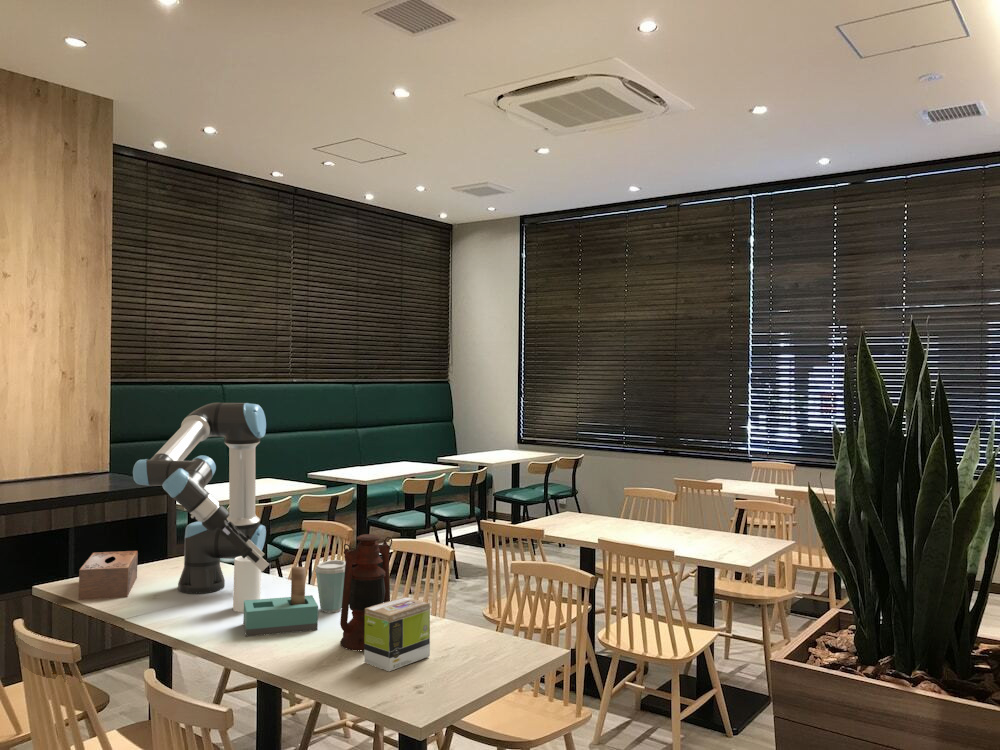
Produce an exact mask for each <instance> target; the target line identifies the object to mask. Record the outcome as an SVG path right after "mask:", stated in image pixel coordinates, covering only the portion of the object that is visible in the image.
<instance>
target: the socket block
mask: <svg viewBox="0 0 1000 750" xmlns="http://www.w3.org/2000/svg"><path fill="white" fill-rule="evenodd" d="M318 618H319V605H318V603H317V601H316V600H315V598H314V596H313V595H312V594H311V595H305V604H300V605H291V596H285V597H273V598H271V597H270V598H260V599H257V600H244V612H243V619H242V622H243V623H242V624H244V625H243V628H244V633H246V634H245V637H246V636H247V637H255V636H256V635H258V636H264V634H265V636H266V634H269V635H276V634H277V633H280V634H289V633H299V632H300V631H301V632H309V630H312V631H318V627H319V626H318V625H319V622H318V621H319V620H318ZM277 635H278V634H277Z"/></svg>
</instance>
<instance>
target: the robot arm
mask: <svg viewBox="0 0 1000 750" xmlns="http://www.w3.org/2000/svg"><path fill="white" fill-rule="evenodd" d="M266 430H267V420H266V414H265V411H264V410H263V408H262V407H261V406H260V404H258V403H257V404H256V403H249V402H211V403H207V404H205V405H202V406H201V407H199V408H197V409H195V410H193V411H192V412H190V413H189V414H188V415H187V416H185V418H184V419H183V420H182V422H181V424H180V428H179V429H177V431H176V432H175V433H174V434H173V435H172V436H171V437H170V438H169V439H168V440H167V441H166V443H164V444H163V446H162V447H160V449H159V450H158V451H157V452H156V453H155V454H154V455H153V456H152V457H151V458H150V459H148V458H145V459H139V460H137V461H136V462H135V464H134V465H133V469H132V476H133V481H134V482H135V483H136V484H137V485H139V486H141V485H142V486H149V487H150V486H153V487H154V486H156V487H157V486H162V488H163V491H165V492H166V493H167V494H168V495H169V497H170V498H172V499H173V500H174V501H176V502H177V503H178V504H179V505H180V506H182V507H183V508H184V510H186V511H187V512H188V513H189V514H190V518H191V519H195V520H196V521H194V522H191V523H189V524H188V525H186V527H185V532H184V550H183V551H184V552H183V555H184V557H183V563H184V564H183V565H184V566H183V569H182V571H181V575H180V577H179V579H178V583H177V590H178V591H179V592H180V593H183V594H184V593H186V594H208V593H214V592H218V591H220V589H221V590H223V589H224V588H225V585H226V581H225V580H226V579H225V576H224V573H223V571H222V567H221V559H223V560H224V559H226V560H227V559H230V560H231V559H234V560H235V558H236V557H239V556H242V557H243V558H245V557H247V558H248V559H249V560H250V561H251V562H252V563H253V564H254V565H255V566H257V567H258V568H259V569H260V570H261V573H262V572H264V570H265V569H266V568H268V567H269V566H270V563H269V562H267V560H266V559H264V558H263V556H265V553H264V552H263V548H264V546H265V542H266V537H267V530H266V529H267V528H266V526H265V525H263V524H261V518H260V517H258V516H257V514H256V447H257V446H258V445H259V444H260V443H261V438H264V437H265V435H266V432H267V431H266ZM211 437H218V438H219V437H221V438H224V444H225V445H226V446H227V447H228V448H229V453H228V456H229V459H228V460H229V461H228V462H229V464H228V465H229V467H228V469H229V470H228V471H229V474H228V476H229V477H228V479H229V483H228V485H229V487H228V489H229V490H228V491H229V493H228V494H229V497H228V498H229V499H228V500H229V503H228V507H229V508H228V509H229V510H228V509H227V508H226V507H225V506H224V505H223V504H220V501H219V500H218V499H216V497H214V495H212V494H211V493H209V491H207V490H206V489H205V487H206V486H207V485H208V483H209V482H210V481H212V478H213V476H214V475H215V473H216V470H217V465H216V463H215V461H214V460H213V458H211V457H209V456H207V455H198V456H195V457H194V458H192V459H191V460H186V458H187V457H188V456H189V455H190V454H191V452H192V451H193V450H194V449H195V448H196V446H197V445H198V444H200V442H203V441H205V440H207V439H208V438H211Z"/></svg>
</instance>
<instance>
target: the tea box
mask: <svg viewBox="0 0 1000 750" xmlns="http://www.w3.org/2000/svg"><path fill="white" fill-rule="evenodd" d="M430 612H431V604H430V602H426V601H422V600H418V599H415V598H410V597H408V596H402V597H398V598H396V599H393V600H390V601H389V602H385V603H384V602H383V603H381V604H378V605H375V606H371V607H368V608H365V637H364V651H363V653H364V654H363V658H364V661H363V662H364V663H365V664H366V663H368V664H367V665H369V664H370V665H369V666H371V665H373V666H372V667H374V666H376V667H375V668H377V667H378V668H377V669H380V668H381V669H380V670H382V669H384V670H383V671H385V670H386V671H385V672H391V671H394V670H397V669H400V668H402V667H405V666H407V665H411V664H412V663H415V662H418V661H421V660H423V659H426V658H429V657H430V656H431V649H430V647H431V646H430V645H431V641H430V640H431V630H430V629H431V613H430Z"/></svg>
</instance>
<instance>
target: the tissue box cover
mask: <svg viewBox="0 0 1000 750" xmlns="http://www.w3.org/2000/svg"><path fill="white" fill-rule="evenodd" d="M138 555H139V553H138V550H126V551H103V552H92V553H91V555H90V556H89V557H88V559H87V560H85V562H84V563H83V565H82V566H81V567H80V568H79V570H78V572H79V573H78V596H77V599H78V600H79V601H82V600H84V601H86V600H100V599H102V600H103V599H104V600H105V599H118V598H128V597H129V595H130V593H131V591H132V588H133V587H134V585H135V583H136V581H137V578H138Z"/></svg>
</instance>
